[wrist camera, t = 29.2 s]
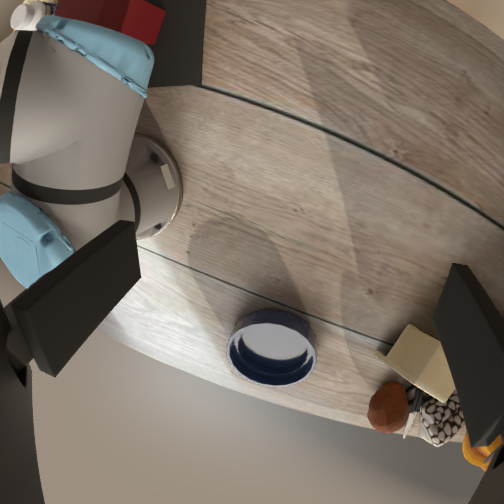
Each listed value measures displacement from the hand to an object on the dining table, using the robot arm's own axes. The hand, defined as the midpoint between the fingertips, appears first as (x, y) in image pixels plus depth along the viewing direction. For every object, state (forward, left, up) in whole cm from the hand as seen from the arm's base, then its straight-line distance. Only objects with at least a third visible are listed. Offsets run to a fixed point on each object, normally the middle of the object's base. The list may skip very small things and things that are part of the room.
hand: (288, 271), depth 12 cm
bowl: (-2, -30, -29) cm, 42 cm away
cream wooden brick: (+23, -24, -18) cm, 38 cm away
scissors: (+31, -56, -28) cm, 70 cm away
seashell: (+37, -39, -21) cm, 58 cm away
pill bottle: (-39, +22, -29) cm, 53 cm away
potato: (+24, -39, -25) cm, 52 cm away
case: (-23, +17, -28) cm, 40 cm away
